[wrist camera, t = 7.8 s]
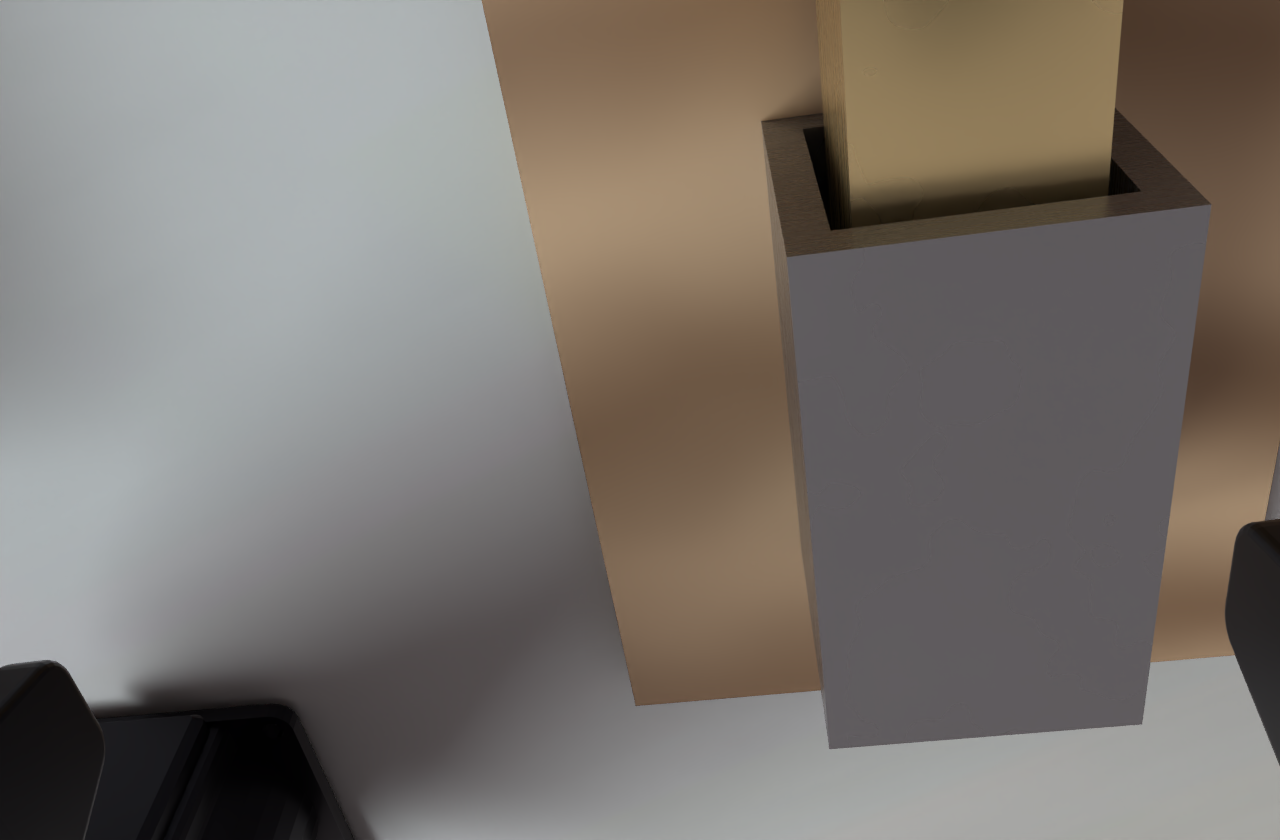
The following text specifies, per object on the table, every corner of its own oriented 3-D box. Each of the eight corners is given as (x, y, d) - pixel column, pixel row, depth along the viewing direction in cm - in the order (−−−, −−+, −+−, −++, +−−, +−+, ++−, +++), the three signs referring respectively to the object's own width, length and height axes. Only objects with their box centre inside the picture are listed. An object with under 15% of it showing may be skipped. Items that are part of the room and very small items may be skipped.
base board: (1219, 621, 25) (1238, 654, 24) (636, 673, 26) (635, 705, 26) (1635, -1741, 10) (1722, -1867, 9) (209, -1333, 11) (172, -1414, 10)
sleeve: (1055, 527, 22) (1142, 723, 18) (801, 553, 23) (829, 749, 19) (1084, 76, 18) (1211, 204, 13) (761, 121, 18) (786, 257, 14)
